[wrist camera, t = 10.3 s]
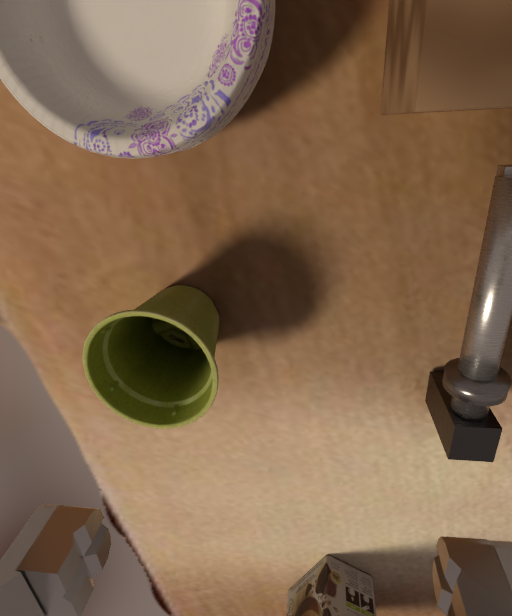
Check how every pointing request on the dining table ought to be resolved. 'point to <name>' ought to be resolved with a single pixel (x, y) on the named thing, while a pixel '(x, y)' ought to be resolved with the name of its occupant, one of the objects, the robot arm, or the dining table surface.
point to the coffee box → (332, 591)
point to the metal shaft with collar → (480, 344)
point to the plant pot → (157, 359)
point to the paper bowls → (134, 68)
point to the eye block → (447, 56)
